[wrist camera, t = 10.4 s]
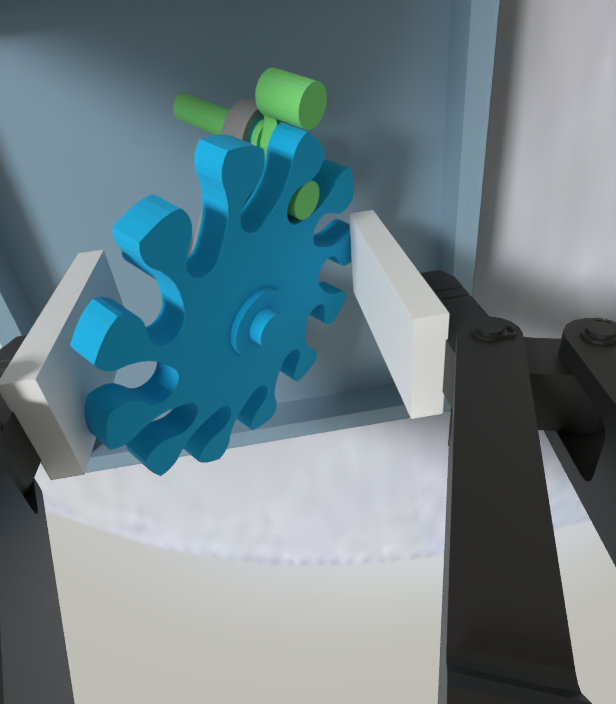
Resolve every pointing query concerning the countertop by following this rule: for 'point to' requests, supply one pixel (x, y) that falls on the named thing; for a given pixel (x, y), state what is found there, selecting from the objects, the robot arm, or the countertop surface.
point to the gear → (223, 279)
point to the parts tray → (181, 138)
